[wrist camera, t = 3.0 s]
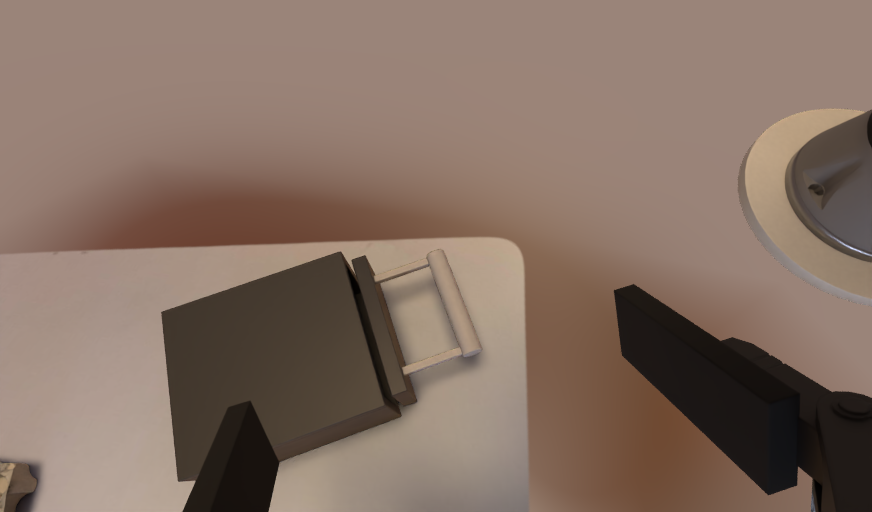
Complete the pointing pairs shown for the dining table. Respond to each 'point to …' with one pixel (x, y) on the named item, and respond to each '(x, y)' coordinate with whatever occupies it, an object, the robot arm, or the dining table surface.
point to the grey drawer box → (276, 362)
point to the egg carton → (14, 484)
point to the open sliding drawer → (385, 331)
